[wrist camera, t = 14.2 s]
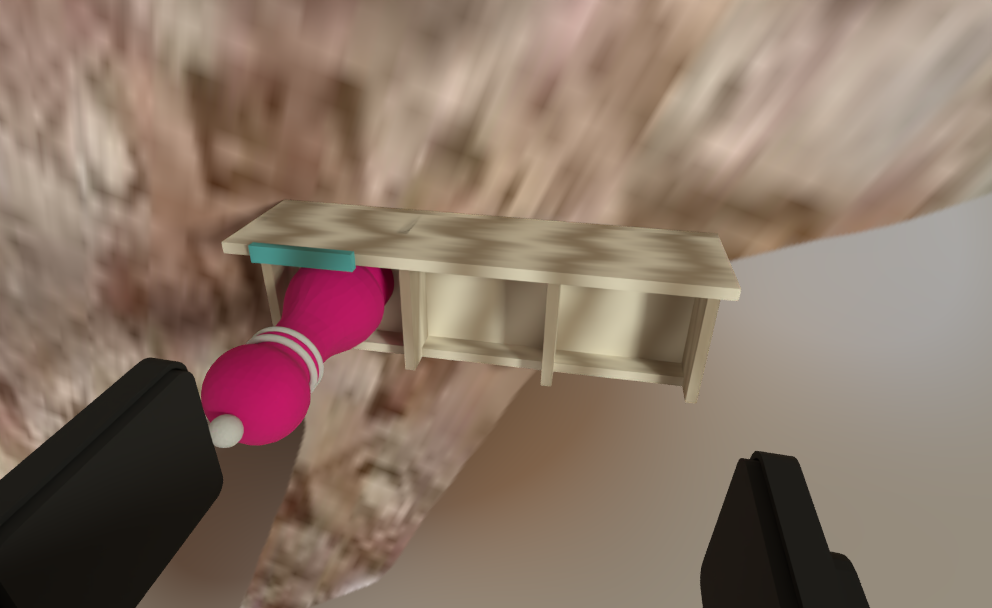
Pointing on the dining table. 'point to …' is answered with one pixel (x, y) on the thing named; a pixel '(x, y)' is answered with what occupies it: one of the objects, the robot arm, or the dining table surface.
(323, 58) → the dining table surface
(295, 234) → the rack
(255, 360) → the pepper mill
